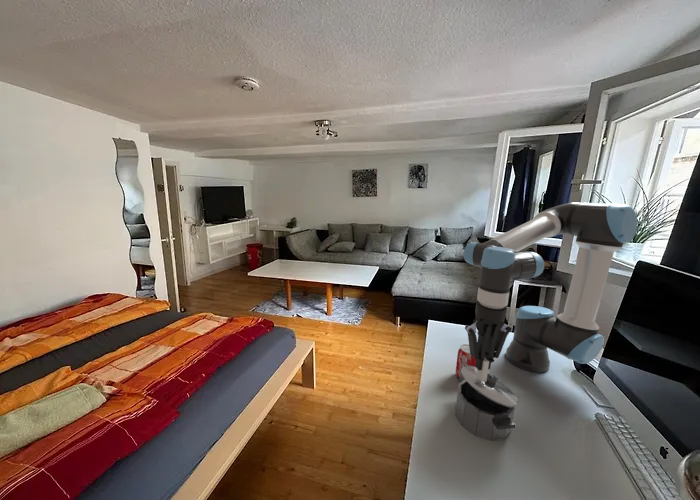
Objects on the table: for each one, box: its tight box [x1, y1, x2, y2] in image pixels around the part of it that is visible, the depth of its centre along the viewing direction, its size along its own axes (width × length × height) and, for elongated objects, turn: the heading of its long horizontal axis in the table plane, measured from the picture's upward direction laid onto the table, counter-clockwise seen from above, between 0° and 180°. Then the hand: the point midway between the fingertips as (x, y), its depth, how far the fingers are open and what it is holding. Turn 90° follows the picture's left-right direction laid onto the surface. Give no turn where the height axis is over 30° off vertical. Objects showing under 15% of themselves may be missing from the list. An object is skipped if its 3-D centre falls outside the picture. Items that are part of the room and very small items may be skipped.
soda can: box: [455, 343, 476, 380], centre depth 100 cm, size 7×7×12 cm
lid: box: [461, 365, 519, 408], centre depth 81 cm, size 16×16×3 cm
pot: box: [454, 377, 517, 441], centre depth 83 cm, size 16×20×8 cm
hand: (481, 378), depth 80 cm, fingers closed
